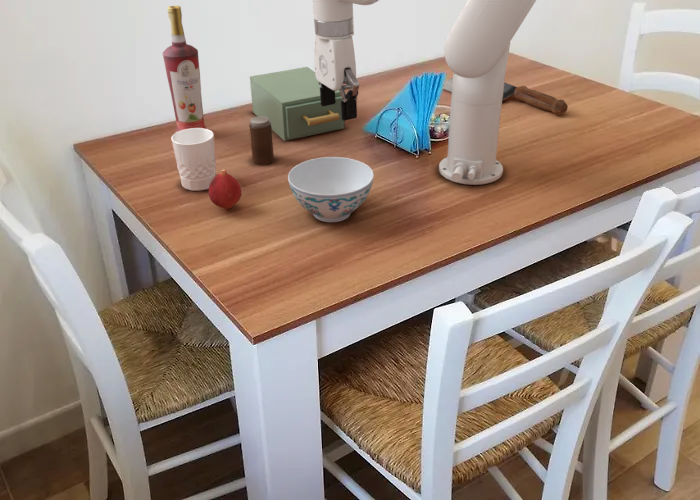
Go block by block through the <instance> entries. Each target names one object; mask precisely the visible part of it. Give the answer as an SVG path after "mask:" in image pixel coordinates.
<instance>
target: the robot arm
mask: <svg viewBox="0 0 700 500" xmlns="http://www.w3.org/2000/svg"><path fill="white" fill-rule="evenodd" d="M379 1H380V0H312V9H313V10H312V11H313V24H314V72H315V76H316V79H317V80H318V81H319V86H320V99H321V105H322V106H328V105H332V104H335V103H336V101H335V91H337V90H338V89H339V91H340V94H341V97H342V100H343V101H341V116H342V120H343V121H344V122H346V121H349V120H354V119H357V118H358V108H357V107H358V104H357V100H358V95H359V89H360V81H358V79H357V65H356V55H355V54H356V53H355V47H354V39H353V36H354V35H355V29H354V28H355V27H354V25H355V24H354V4H355V5H360V6H370V5H374V4H375V3H377V2H379ZM536 2H537V0H467V1H466V3H465V4H464V6H463V8H462V9H461V11H460V13H459V15H458V17H457V19H456V20H455V21H454V23H453V24H452V27H451V29H450V30H449V32H448V34H447V36H446V39H445V42H444V46H443V52H444V53H443V55H444V60H445V63H446V64H447V66H448V68H449V69H450V70H451V71H452V72H453V73H452V78H453V83H452V92H451V97H450V109H449V110H450V112H449V125H448V127H449V128H448V142H447V143H448V144H447V156H446V157H444V158H443V159H441V161H439V164H438V172H439V173H440V175H441V176H442V177H444V178H445V179H447V180H448V181H451V182H453V183H457V184H462V185H469V186H472V185H473V186H478V185H486V184H491V183H493V182H497V181H498V180H499V179H500V178H501V177H502V176H503V174H504V166H503V164H502V163H501V162H500V161H498V160H497V152H498V144H499V134H500V124H501V115H502V105H503V100H502V98H503V90H504V82H505V81H506V73H507V66H508V60H509V54H510V47H511V41H512V40H513V38H514V37H515V35H516V33H517V32H518V30H519V29H520V27H521V25H523V23H524V21H525V19H526V17H527V16H528V15H529V13H530V11H531V9H532V8H533V7H534V5H535V3H536ZM346 90H348V91H347V93H346Z"/></svg>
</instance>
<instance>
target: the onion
mask: <svg viewBox="0 0 700 500" xmlns="http://www.w3.org/2000/svg"><path fill="white" fill-rule="evenodd" d="M208 197H209V200H210V201H211V203H212V204H214V205H215V206H217V207H218V208H221V209H224V210H226V211H228V210H231V209H232V208H233V207H234V206H235V205H236V204H237V203H239V201H240V200H241V197H242V187H241V184H240V181H238V179H237V178H235V177H234V176H233V175H232V174H229V173H228V171H227V170H226V169H221V170H220V171H219V173H218V174H216V176H215V177H214V178H213V180H212V181H211V183H210V185H209V188H208Z"/></svg>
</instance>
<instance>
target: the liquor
mask: <svg viewBox="0 0 700 500" xmlns="http://www.w3.org/2000/svg"><path fill="white" fill-rule="evenodd" d="M166 9H167V15H168V19H169V23H170V32H171V34H170V35H171V45H169V46H168V47H167V48H165V49H164V51H162V56H163V62H164V68H165V72H166V78H167V82H168V87H169V91H170V96H171V101H172V106H173V112H174V117H175V123H176V129H175V133H176V132H178V131H181V130H184V129H190V128H204V129H208V128H207V126H206V124H205V119H204V109H203V98H202V85H201V84H202V83H201V70H200V60H199V50H198V49H197V48H196V47H194V46H193V45H191V44H188V43H187V39H186V36H185V35H186V34H185V31H184V26H183V19H182V18H183V17H182V16H183V14H182V7H181V6H180V5H169V6H167V8H166Z"/></svg>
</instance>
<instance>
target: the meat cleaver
mask: <svg viewBox="0 0 700 500" xmlns="http://www.w3.org/2000/svg"><path fill="white" fill-rule="evenodd" d="M444 82H445V83H444ZM444 82H443V83H444V87H443V88H442V89H443V90H445V91H448V92H450V93H452V83H453V77H451V78H450V79H448V80H446V81H444ZM512 96H514V97H515V99H516V100H517V101H519V102H525V103H526V104H528V105H530V106H533V107H535V108H538V109H541V110H543V111H546V112H553V113H554V114H555V115H556V116H561V115H564V114H565V113H567V110H568V104H567V102H566V101H565V100H564V99H558V98H556V97H554V96H552V95H549V94H547V93H544V92H541V91H538V90H535V89H531V88H528V87H527V86H526V85H520V86H515V85H512V84H510V83H508V82H505V81H504V90H503V98H502V101H504V100H506V99H508V98H510V97H512Z"/></svg>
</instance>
